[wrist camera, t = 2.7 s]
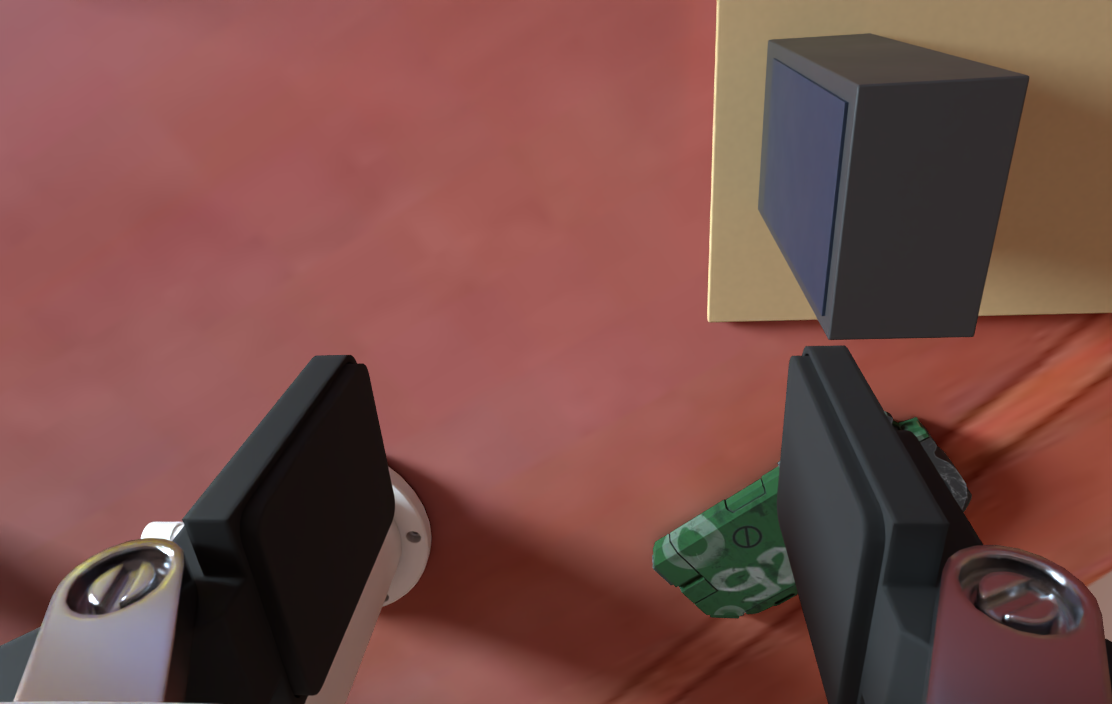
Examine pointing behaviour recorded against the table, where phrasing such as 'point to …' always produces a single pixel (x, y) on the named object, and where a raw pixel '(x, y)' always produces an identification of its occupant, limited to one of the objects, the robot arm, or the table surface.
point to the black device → (886, 180)
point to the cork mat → (1035, 173)
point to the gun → (754, 543)
